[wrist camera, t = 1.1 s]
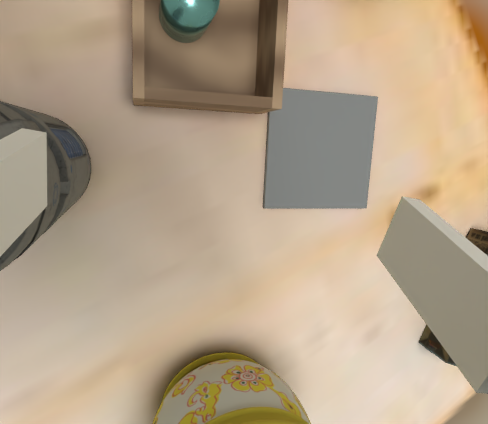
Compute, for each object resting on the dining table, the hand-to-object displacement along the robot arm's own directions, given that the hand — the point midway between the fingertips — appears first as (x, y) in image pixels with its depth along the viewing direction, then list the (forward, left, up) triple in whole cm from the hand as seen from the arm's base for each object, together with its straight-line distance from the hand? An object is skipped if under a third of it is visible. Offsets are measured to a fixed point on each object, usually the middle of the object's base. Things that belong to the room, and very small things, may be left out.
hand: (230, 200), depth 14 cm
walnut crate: (-16, +3, -29) cm, 33 cm away
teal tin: (-15, +1, -28) cm, 32 cm away
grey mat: (-2, +18, -29) cm, 34 cm away
